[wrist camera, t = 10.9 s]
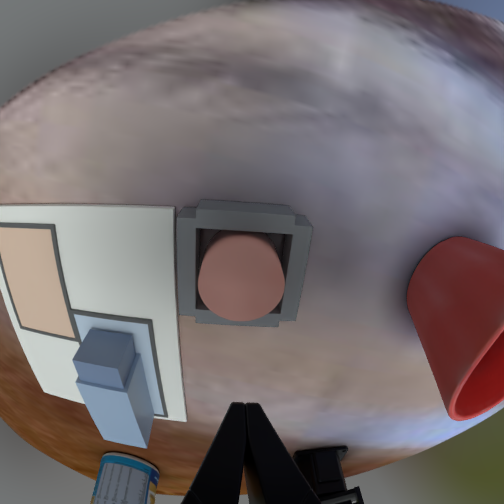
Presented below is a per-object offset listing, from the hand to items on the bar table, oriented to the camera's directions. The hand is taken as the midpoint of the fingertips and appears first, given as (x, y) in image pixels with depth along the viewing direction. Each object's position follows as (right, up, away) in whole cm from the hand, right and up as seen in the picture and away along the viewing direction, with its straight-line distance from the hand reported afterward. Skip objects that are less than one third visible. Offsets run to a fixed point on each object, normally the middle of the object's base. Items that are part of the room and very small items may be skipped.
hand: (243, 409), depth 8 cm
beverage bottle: (-16, -24, +22) cm, 36 cm away
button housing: (0, +4, +10) cm, 11 cm away
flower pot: (+15, +3, +12) cm, 19 cm away
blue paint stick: (-10, -5, +13) cm, 17 cm away
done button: (0, +5, +11) cm, 12 cm away
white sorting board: (-13, -1, +12) cm, 18 cm away
